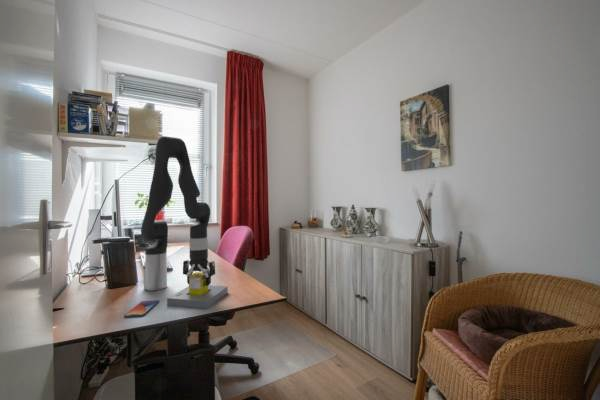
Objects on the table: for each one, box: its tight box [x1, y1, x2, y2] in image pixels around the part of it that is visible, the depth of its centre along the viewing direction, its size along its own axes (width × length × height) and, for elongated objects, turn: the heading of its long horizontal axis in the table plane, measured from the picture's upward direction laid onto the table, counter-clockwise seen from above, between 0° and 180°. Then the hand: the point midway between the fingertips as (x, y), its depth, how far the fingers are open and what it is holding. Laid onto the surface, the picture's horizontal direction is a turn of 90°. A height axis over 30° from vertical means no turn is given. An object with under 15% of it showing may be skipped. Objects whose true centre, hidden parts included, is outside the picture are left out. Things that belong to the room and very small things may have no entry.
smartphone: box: [123, 299, 160, 319], centre depth 107 cm, size 7×15×1 cm, turn 6°
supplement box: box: [188, 271, 208, 296], centre depth 117 cm, size 6×6×11 cm
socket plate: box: [166, 284, 229, 310], centre depth 117 cm, size 18×18×3 cm
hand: (199, 284), depth 117 cm, fingers open, 8 cm apart
